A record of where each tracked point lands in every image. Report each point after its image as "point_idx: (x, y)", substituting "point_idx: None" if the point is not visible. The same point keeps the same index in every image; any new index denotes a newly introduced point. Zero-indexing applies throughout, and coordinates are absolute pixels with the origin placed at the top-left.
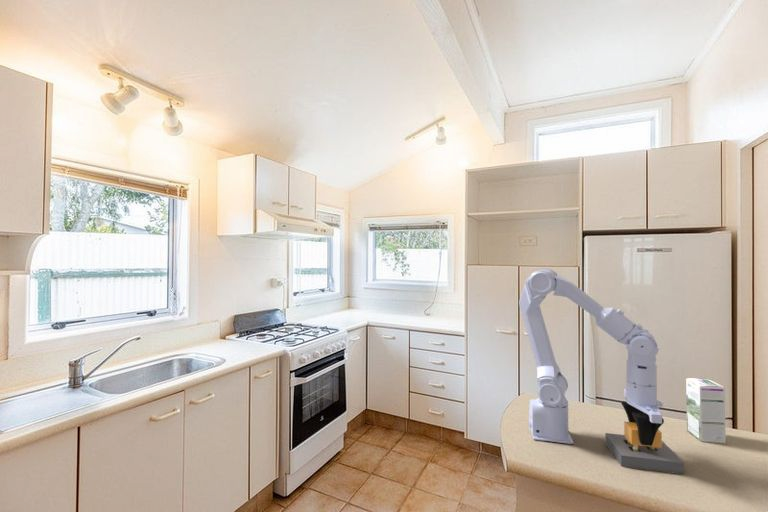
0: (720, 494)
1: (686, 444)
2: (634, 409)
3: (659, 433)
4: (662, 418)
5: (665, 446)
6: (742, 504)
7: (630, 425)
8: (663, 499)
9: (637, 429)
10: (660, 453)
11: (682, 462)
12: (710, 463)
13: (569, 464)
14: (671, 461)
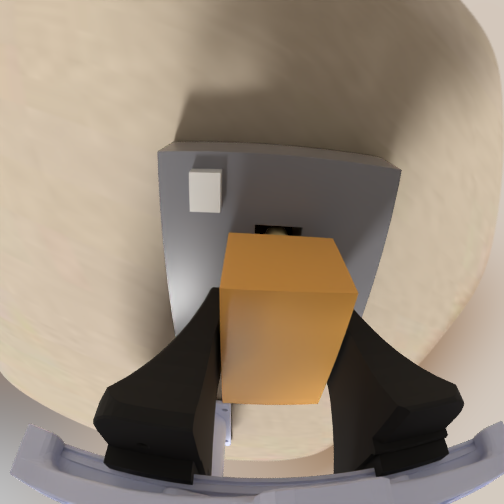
0: (471, 118)
1: (105, 11)
2: (208, 447)
3: (351, 298)
4: (444, 405)
5: (248, 166)
6: (499, 95)
7: (268, 396)
8: (466, 292)
9: (316, 386)
10: (326, 230)
11: (399, 175)
12: None
13: (325, 415)
14: (390, 218)
